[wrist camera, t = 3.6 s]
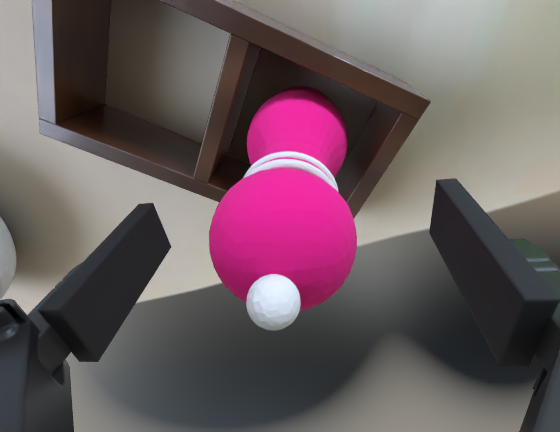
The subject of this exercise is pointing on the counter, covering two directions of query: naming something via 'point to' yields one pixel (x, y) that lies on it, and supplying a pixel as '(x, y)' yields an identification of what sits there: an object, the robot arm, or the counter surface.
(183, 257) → the counter surface
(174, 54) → the counter surface
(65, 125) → the caddy
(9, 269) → the serving bowl
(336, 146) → the pepper mill
